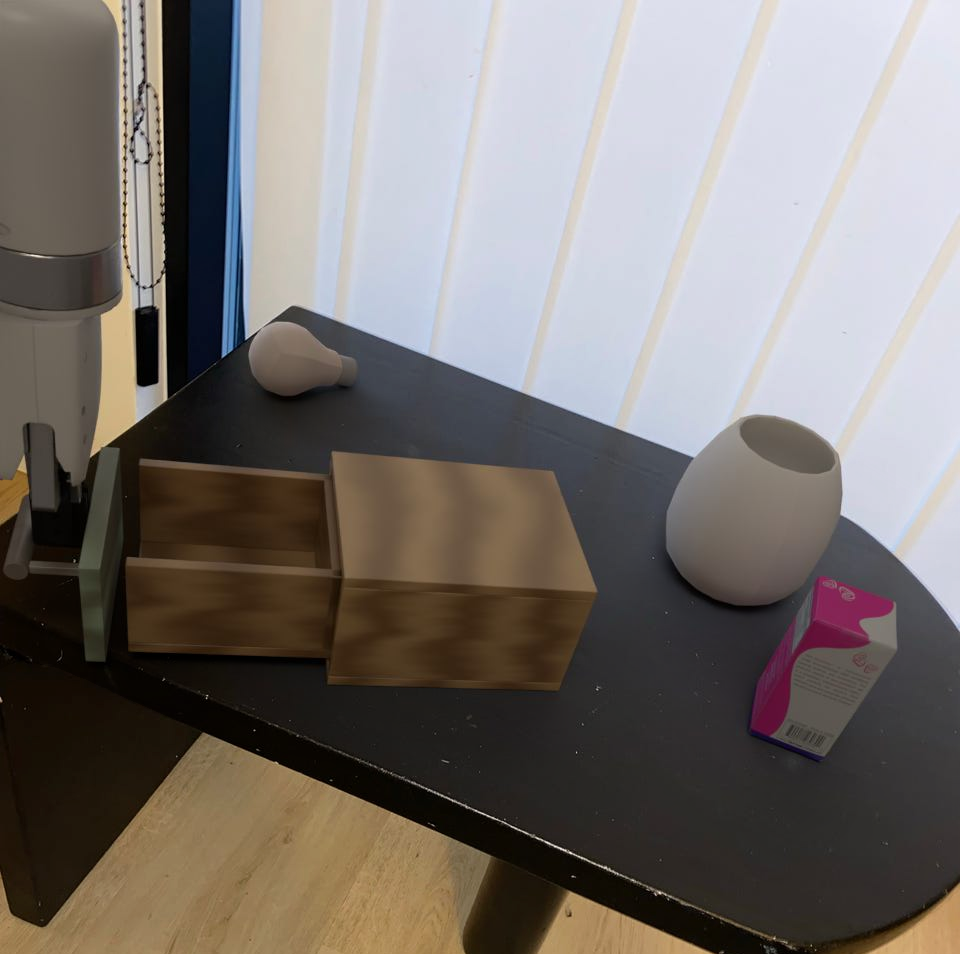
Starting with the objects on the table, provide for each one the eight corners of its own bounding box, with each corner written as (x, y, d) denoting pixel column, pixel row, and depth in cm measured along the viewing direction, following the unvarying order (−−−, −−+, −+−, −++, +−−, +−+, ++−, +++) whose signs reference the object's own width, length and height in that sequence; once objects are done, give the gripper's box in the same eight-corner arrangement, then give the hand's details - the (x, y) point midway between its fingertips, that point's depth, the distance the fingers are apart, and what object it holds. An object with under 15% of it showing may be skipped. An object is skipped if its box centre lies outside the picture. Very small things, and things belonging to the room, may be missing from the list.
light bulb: (359, 323, 94) (256, 298, 86) (384, 370, 91) (279, 348, 84) (329, 375, 98) (228, 355, 90) (352, 422, 95) (249, 405, 88)
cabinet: (327, 684, 66) (344, 577, 60) (317, 555, 75) (331, 450, 69) (558, 691, 70) (598, 592, 64) (522, 568, 80) (553, 470, 73)
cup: (773, 538, 91) (840, 413, 82) (812, 636, 82) (893, 506, 73) (639, 516, 89) (692, 385, 80) (663, 614, 79) (726, 478, 70)
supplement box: (826, 711, 75) (900, 601, 68) (821, 764, 71) (900, 653, 63) (754, 682, 76) (820, 570, 68) (745, 733, 71) (814, 620, 64)
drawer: (4, 659, 61) (-12, 562, 55) (35, 533, 69) (24, 439, 64) (331, 669, 66) (345, 582, 61) (322, 551, 74) (334, 466, 69)
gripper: (-9, 190, 54) (17, 465, 66) (-71, 317, 44) (-26, 616, 56) (134, 214, 56) (134, 476, 68) (107, 340, 46) (113, 623, 58)
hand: (62, 538), depth 62 cm, fingers closed
